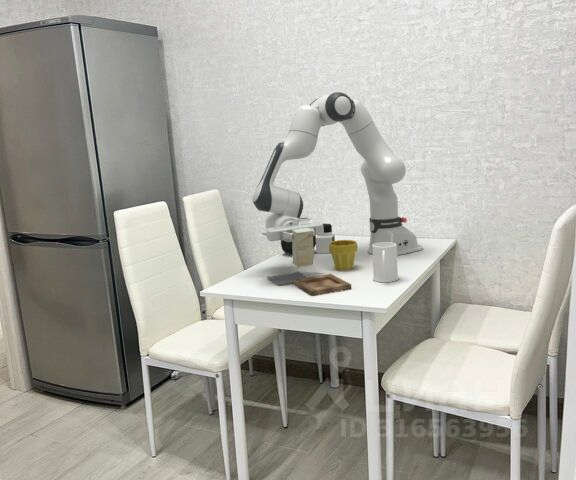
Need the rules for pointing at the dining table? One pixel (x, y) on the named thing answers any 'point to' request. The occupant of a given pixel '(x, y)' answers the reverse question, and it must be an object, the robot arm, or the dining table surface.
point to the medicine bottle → (324, 240)
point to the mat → (286, 278)
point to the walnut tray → (321, 284)
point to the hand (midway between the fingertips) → (302, 235)
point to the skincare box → (302, 247)
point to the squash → (288, 245)
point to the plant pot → (343, 253)
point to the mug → (385, 262)
